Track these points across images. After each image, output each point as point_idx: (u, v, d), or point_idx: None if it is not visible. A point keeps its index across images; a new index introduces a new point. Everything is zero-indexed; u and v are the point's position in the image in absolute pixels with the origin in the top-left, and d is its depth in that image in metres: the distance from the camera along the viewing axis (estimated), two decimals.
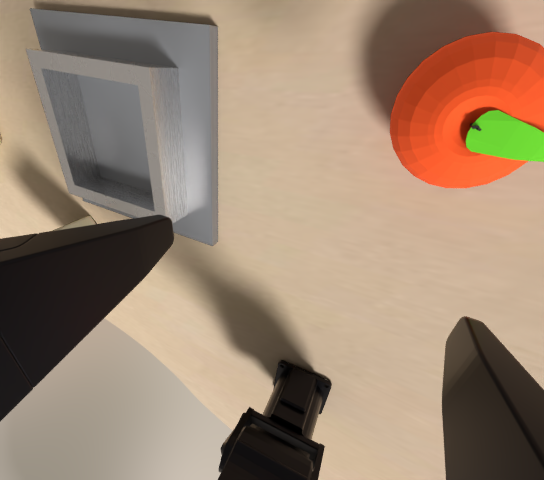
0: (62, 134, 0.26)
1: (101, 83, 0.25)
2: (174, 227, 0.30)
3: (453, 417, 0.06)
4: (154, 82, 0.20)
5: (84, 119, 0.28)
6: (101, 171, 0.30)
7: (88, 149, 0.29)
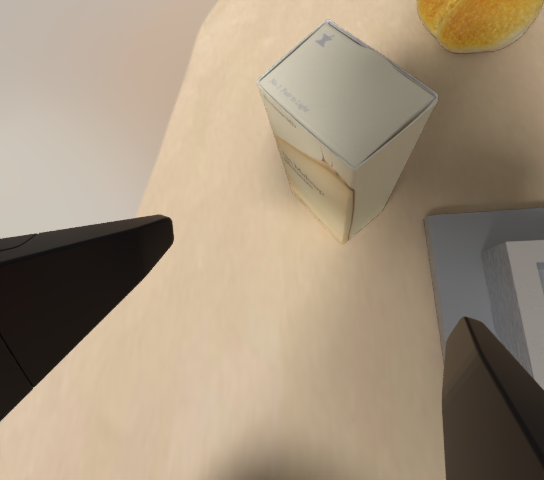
0: None
1: None
2: None
3: (453, 417, 0.06)
4: None
5: None
6: None
7: None
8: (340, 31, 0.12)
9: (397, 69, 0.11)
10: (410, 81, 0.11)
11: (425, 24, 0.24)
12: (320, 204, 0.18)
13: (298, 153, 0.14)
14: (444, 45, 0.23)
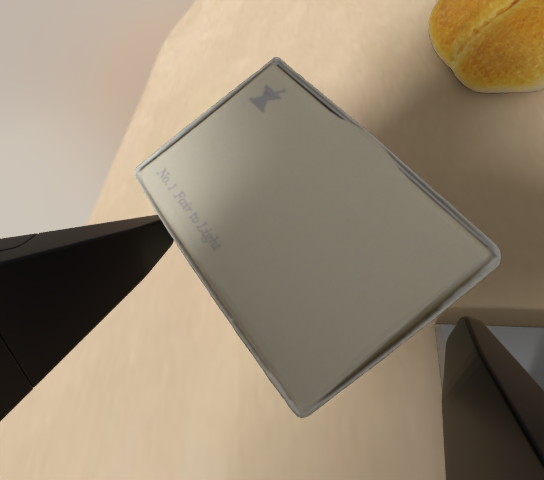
0: None
1: None
2: None
3: (453, 417, 0.06)
4: None
5: None
6: None
7: None
8: (297, 82, 0.06)
9: (407, 174, 0.05)
10: (435, 207, 0.05)
11: (439, 53, 0.19)
12: None
13: None
14: (464, 81, 0.18)
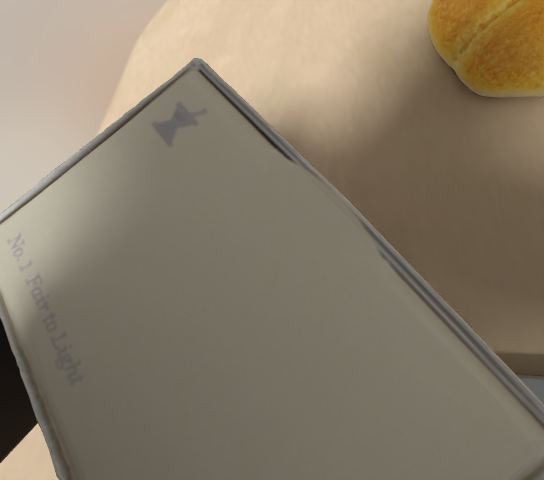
0: None
1: None
2: None
3: None
4: None
5: None
6: None
7: None
8: (226, 97, 0.04)
9: (396, 265, 0.03)
10: (445, 334, 0.03)
11: (440, 51, 0.16)
12: None
13: None
14: (469, 85, 0.15)
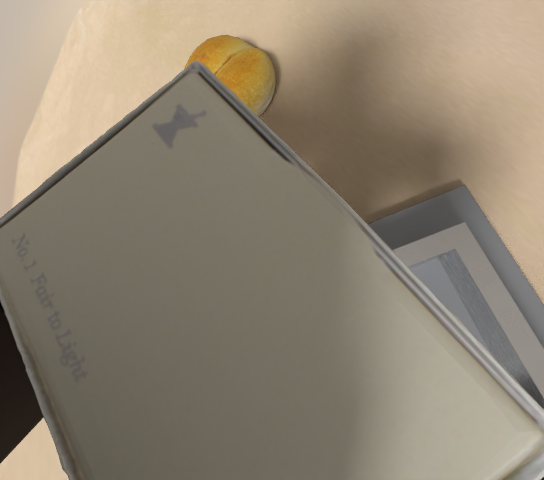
0: None
1: (447, 303, 0.18)
2: None
3: None
4: None
5: None
6: None
7: None
8: (226, 100, 0.04)
9: (390, 263, 0.03)
10: (438, 330, 0.03)
11: None
12: None
13: None
14: None
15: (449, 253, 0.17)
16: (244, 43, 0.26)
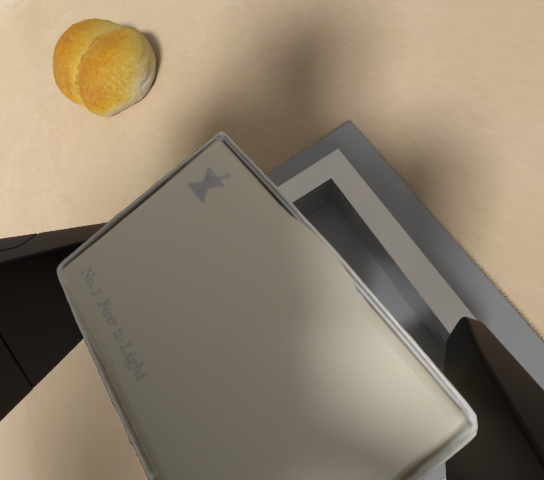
0: None
1: (346, 245, 0.17)
2: None
3: None
4: None
5: None
6: None
7: None
8: (244, 164, 0.05)
9: (366, 296, 0.04)
10: (398, 346, 0.04)
11: (77, 103, 0.25)
12: None
13: None
14: None
15: (332, 187, 0.16)
16: (115, 24, 0.25)
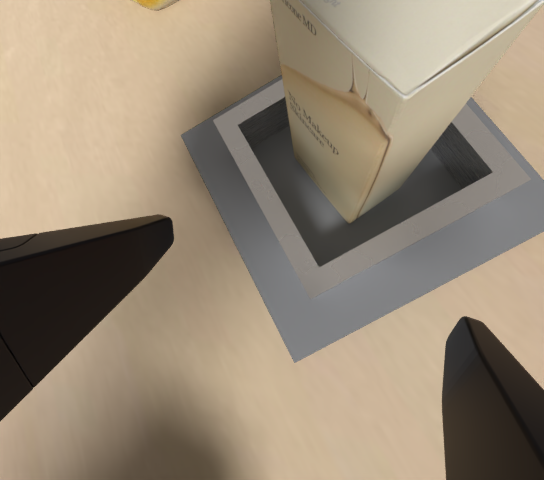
0: None
1: None
2: (268, 288, 0.18)
3: (453, 417, 0.06)
4: (509, 191, 0.15)
5: None
6: (258, 147, 0.20)
7: (285, 122, 0.20)
8: None
9: None
10: None
11: None
12: (330, 169, 0.14)
13: (312, 88, 0.10)
14: (145, 6, 0.26)
15: None
16: None
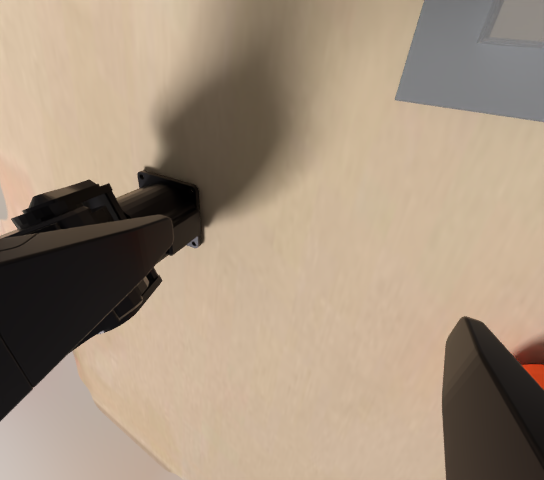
0: None
1: None
2: None
3: (453, 417, 0.06)
4: None
5: None
6: None
7: None
8: None
9: None
10: None
11: None
12: None
13: None
14: None
15: None
16: None
